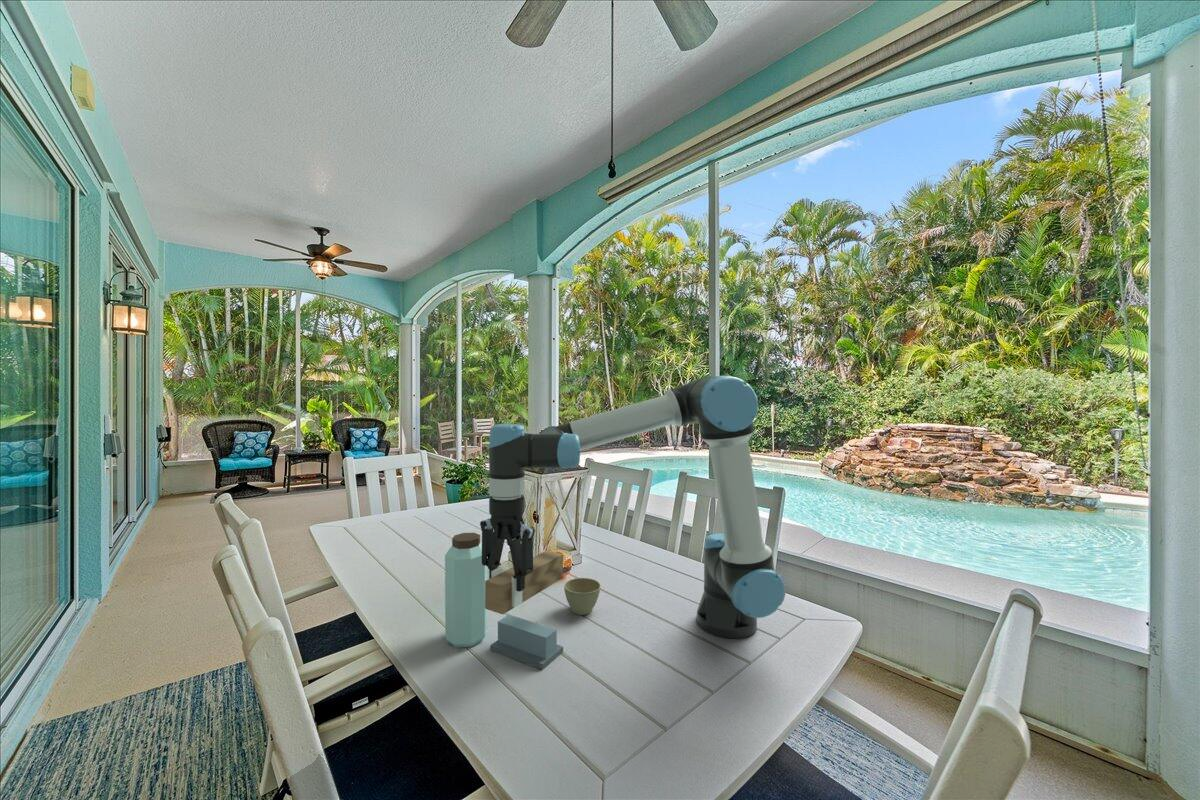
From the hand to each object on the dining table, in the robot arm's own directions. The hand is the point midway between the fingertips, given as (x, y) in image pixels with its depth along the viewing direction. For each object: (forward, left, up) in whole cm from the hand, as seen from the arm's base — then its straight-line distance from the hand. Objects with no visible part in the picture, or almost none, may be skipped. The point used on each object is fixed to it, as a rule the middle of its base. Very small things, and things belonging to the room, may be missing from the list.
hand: (506, 601), depth 103 cm
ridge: (0, -7, -15) cm, 16 cm away
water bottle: (+16, -4, -15) cm, 22 cm away
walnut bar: (0, -7, -1) cm, 7 cm away
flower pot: (-1, -30, -15) cm, 33 cm away
